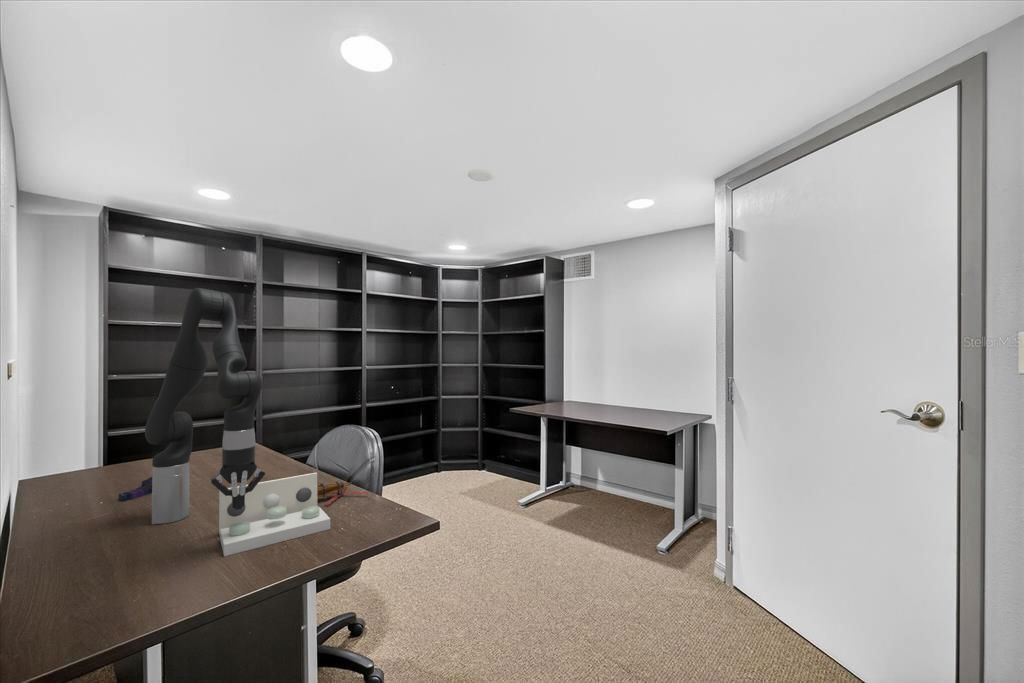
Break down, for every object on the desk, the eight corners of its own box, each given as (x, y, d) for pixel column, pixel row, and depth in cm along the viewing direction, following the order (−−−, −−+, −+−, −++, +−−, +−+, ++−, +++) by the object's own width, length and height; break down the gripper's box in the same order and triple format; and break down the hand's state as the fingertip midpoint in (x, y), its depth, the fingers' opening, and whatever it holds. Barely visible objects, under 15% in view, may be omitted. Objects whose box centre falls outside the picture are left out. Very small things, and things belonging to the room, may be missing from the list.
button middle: (268, 521, 118) (268, 513, 118) (265, 515, 122) (265, 508, 122) (287, 516, 121) (287, 509, 121) (284, 511, 125) (284, 504, 125)
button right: (303, 520, 124) (303, 513, 124) (300, 515, 128) (300, 508, 128) (321, 515, 127) (321, 509, 127) (317, 511, 131) (317, 504, 131)
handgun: (109, 492, 162) (159, 481, 174) (121, 503, 149) (174, 491, 161) (109, 485, 162) (159, 474, 174) (121, 495, 149) (174, 483, 161)
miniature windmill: (276, 518, 132) (369, 493, 152) (271, 484, 136) (363, 464, 156) (267, 529, 142) (356, 504, 162) (263, 497, 146) (350, 477, 166)
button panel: (224, 556, 109) (224, 544, 109) (220, 540, 118) (220, 529, 118) (330, 528, 125) (330, 518, 125) (319, 516, 134) (319, 507, 134)
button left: (230, 537, 113) (230, 530, 113) (228, 531, 116) (228, 524, 117) (251, 532, 116) (251, 525, 116) (248, 526, 119) (248, 519, 120)
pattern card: (219, 537, 120) (219, 491, 120) (218, 532, 123) (218, 487, 124) (317, 514, 136) (317, 473, 137) (314, 510, 139) (314, 470, 140)
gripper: (264, 439, 123) (263, 499, 123) (208, 446, 115) (207, 510, 115) (268, 444, 117) (267, 507, 117) (210, 451, 109) (209, 519, 109)
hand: (238, 508), depth 116 cm, fingers closed
